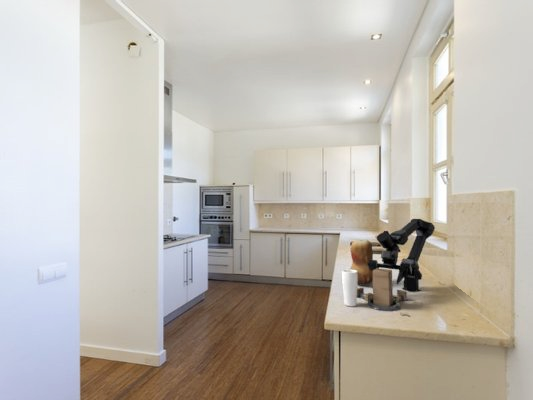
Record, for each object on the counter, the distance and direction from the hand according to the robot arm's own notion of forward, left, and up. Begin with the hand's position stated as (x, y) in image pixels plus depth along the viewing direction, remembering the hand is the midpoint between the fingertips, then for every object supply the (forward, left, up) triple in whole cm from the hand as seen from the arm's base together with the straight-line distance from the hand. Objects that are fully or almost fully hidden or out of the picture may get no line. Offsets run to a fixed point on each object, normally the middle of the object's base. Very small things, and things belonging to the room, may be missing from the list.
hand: (386, 282), depth 136 cm
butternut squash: (-6, -29, -9) cm, 31 cm away
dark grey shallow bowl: (+5, +4, -9) cm, 11 cm away
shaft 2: (-6, 0, -9) cm, 10 cm away
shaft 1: (+7, -7, -9) cm, 13 cm away
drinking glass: (+18, -1, -9) cm, 20 cm away
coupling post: (+5, +4, -8) cm, 10 cm away
